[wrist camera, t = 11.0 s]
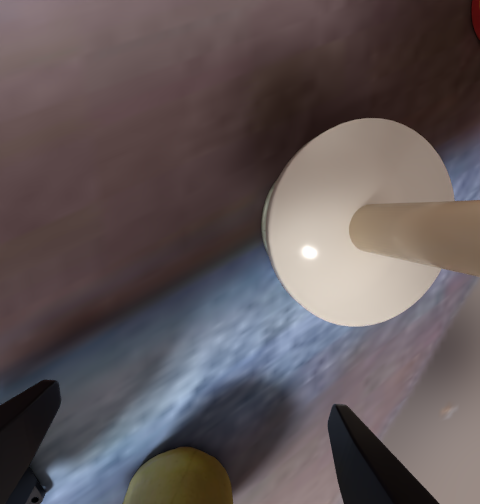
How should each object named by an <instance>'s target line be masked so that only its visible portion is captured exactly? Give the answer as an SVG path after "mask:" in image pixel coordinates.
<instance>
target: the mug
mask: <svg viewBox="0 0 480 504" xmlns="http://www.w3.org/2000/svg"><path fill="white" fill-rule="evenodd" d="M123 504H233V497H232V488H231V483H230V479H229V476H228V474H227V472H226V470H225V468H224V467H223V466H222V465H221V463H220V462H219V461H218V460H217V459H216V458H215V457H213V456H211V455H208V454H207V453H205V452H203V451H200V450H198V449H195V448H192V447H178V448H176V449H173V450H169V451H167V452H165V453H162V454H159V455H157V456H155V457H154V458H151V459H150V460H149V461H147V462H146V463H145V464H143V465H142V466H141V467H140V468H139V469H138V471H137V472H136V473H135V475H134V476H133V478H132V479H131V481H130V484H129V487H128V490H127V493H126V495H125V498H124V502H123Z"/></svg>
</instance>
